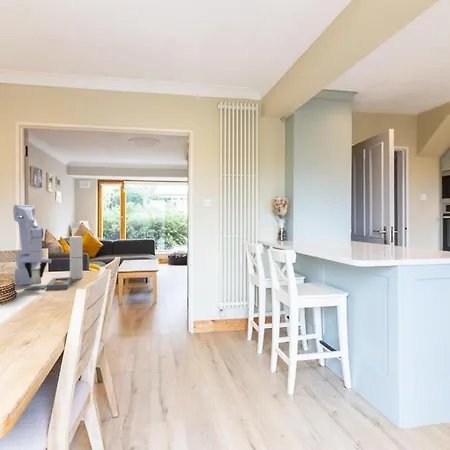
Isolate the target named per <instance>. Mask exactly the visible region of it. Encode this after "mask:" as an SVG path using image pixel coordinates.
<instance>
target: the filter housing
mask: <svg viewBox="0 0 450 450" xmlns="http://www.w3.org/2000/svg"><path fill="white" fill-rule="evenodd" d="M55 281H62V284H54V282H55ZM72 283H73V279H72V277H70V276H69V277H67V276H65V277H52V279H51V280H49V282H48V283H47V284H45V285H46V288H45V289H46V291H55V290H68V289H69V288H70V286H71V285H72Z"/></svg>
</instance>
